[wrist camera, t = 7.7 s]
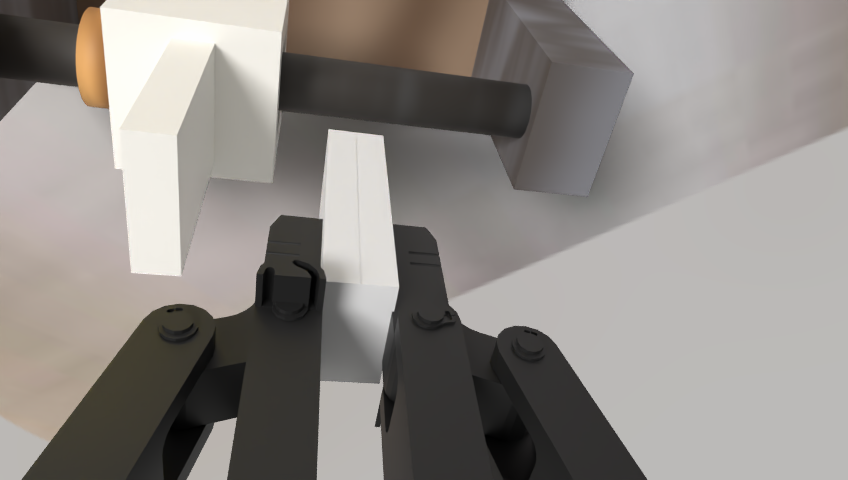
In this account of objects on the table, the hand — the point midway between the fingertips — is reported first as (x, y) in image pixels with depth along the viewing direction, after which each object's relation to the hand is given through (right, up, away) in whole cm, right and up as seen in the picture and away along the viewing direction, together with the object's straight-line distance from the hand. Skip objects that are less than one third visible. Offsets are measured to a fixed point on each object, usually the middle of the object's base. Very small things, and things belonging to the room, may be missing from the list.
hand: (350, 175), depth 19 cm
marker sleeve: (-6, +5, +6) cm, 10 cm away
